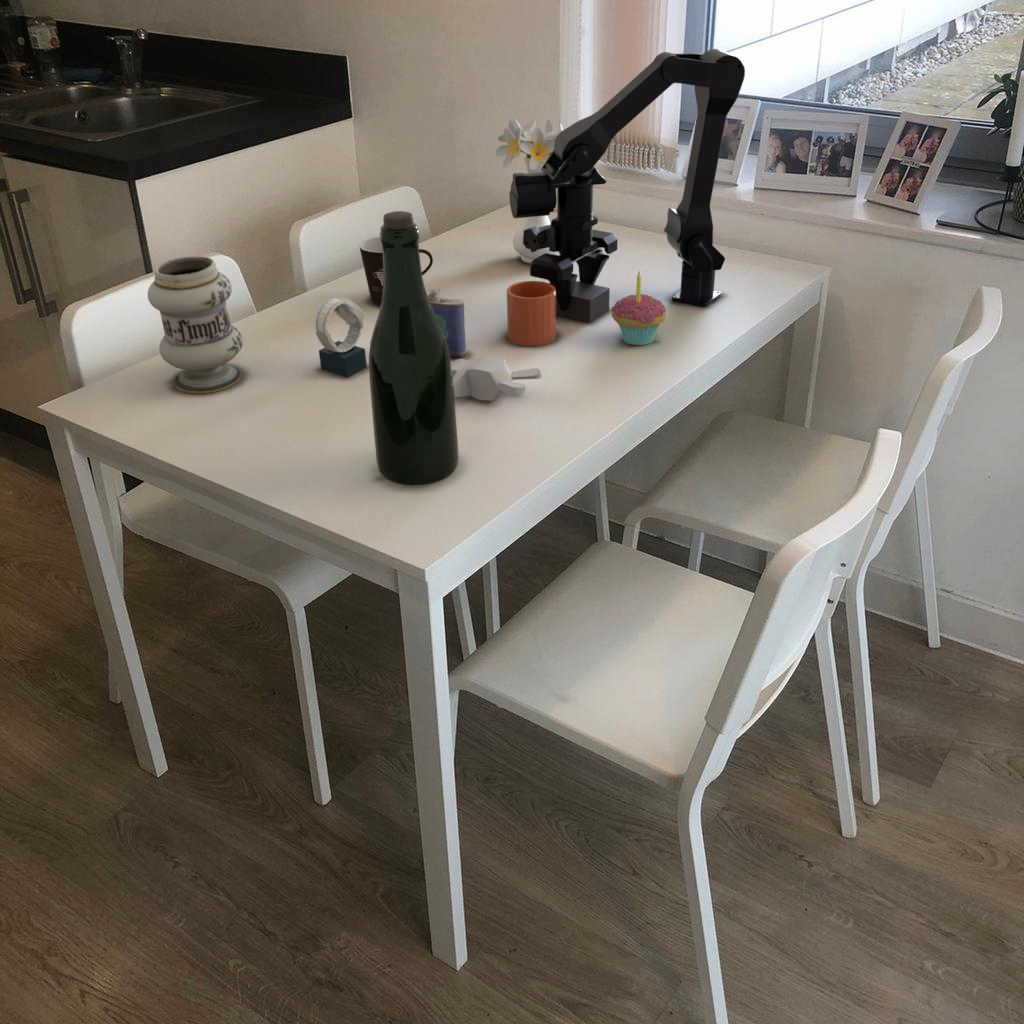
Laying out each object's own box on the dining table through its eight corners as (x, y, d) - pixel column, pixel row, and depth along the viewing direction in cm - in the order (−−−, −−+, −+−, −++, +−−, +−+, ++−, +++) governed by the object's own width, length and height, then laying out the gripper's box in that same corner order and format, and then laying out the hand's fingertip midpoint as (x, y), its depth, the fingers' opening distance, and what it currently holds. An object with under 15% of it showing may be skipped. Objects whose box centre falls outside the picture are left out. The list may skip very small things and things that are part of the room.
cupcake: (661, 351, 167) (666, 277, 161) (607, 348, 169) (609, 275, 162) (666, 330, 174) (670, 258, 168) (614, 327, 176) (616, 256, 169)
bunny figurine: (453, 348, 160) (544, 353, 154) (459, 379, 163) (548, 386, 156) (422, 373, 153) (516, 379, 146) (428, 405, 156) (520, 413, 149)
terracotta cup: (525, 324, 178) (524, 277, 174) (564, 333, 174) (564, 286, 170) (498, 340, 172) (497, 292, 168) (538, 350, 169) (538, 302, 164)
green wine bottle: (396, 444, 144) (372, 197, 126) (470, 453, 141) (457, 203, 123) (364, 483, 135) (335, 224, 118) (443, 493, 133) (424, 231, 115)
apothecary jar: (161, 371, 165) (136, 258, 156) (239, 357, 169) (220, 245, 159) (173, 403, 156) (147, 284, 146) (255, 387, 160) (236, 270, 150)
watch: (375, 362, 166) (368, 295, 160) (339, 381, 161) (330, 312, 155) (348, 354, 169) (341, 288, 163) (312, 373, 164) (303, 304, 158)
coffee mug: (355, 305, 187) (350, 249, 181) (379, 288, 193) (374, 234, 188) (415, 313, 183) (411, 256, 177) (437, 296, 190) (434, 240, 184)
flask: (469, 353, 168) (465, 288, 163) (461, 361, 166) (457, 295, 160) (416, 346, 171) (410, 281, 166) (407, 353, 169) (402, 288, 163)
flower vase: (566, 277, 196) (567, 136, 182) (482, 261, 204) (477, 125, 191) (600, 256, 205) (603, 120, 192) (518, 241, 213) (516, 110, 200)
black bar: (559, 299, 187) (559, 277, 185) (609, 310, 182) (609, 287, 180) (539, 311, 182) (538, 288, 180) (589, 323, 178) (590, 300, 175)
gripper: (563, 191, 184) (563, 278, 192) (501, 220, 171) (503, 312, 179) (620, 200, 178) (617, 290, 186) (560, 231, 165) (560, 326, 174)
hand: (574, 303), depth 182 cm, fingers closed on black bar, 6 cm apart
